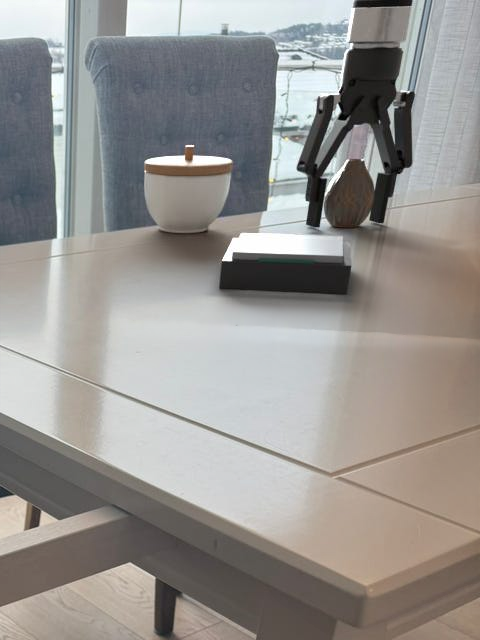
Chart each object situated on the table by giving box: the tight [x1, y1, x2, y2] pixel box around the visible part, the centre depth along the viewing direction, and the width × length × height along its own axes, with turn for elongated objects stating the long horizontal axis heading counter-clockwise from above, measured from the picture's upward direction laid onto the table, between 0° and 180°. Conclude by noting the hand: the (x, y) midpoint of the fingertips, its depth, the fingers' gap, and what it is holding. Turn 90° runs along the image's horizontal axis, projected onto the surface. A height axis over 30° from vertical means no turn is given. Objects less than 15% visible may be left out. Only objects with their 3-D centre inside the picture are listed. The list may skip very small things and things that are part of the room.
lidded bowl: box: [143, 144, 234, 234], centre depth 136 cm, size 13×13×11 cm
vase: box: [323, 158, 375, 229], centre depth 136 cm, size 7×7×9 cm
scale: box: [218, 232, 352, 295], centre depth 110 cm, size 14×14×4 cm
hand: (344, 223), depth 138 cm, fingers open, 10 cm apart
